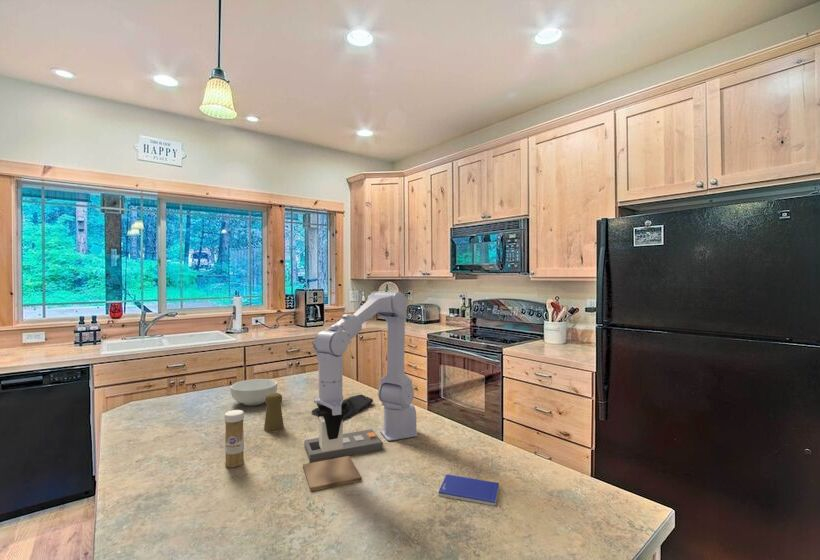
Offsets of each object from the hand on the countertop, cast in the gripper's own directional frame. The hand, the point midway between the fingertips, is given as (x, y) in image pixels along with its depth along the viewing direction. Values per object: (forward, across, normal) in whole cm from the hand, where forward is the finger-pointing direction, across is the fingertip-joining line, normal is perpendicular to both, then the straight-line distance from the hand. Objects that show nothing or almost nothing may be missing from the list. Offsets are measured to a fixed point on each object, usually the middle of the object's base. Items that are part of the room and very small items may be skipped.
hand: (331, 434), depth 98 cm
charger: (+3, 0, 0) cm, 3 cm away
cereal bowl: (+10, -66, -16) cm, 69 cm away
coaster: (+10, 0, 0) cm, 10 cm away
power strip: (+10, -13, +6) cm, 17 cm away
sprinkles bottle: (+10, -15, -22) cm, 28 cm away
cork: (+10, -36, -11) cm, 39 cm away
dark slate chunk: (+10, -44, +14) cm, 48 cm away
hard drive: (+10, +20, +27) cm, 35 cm away
